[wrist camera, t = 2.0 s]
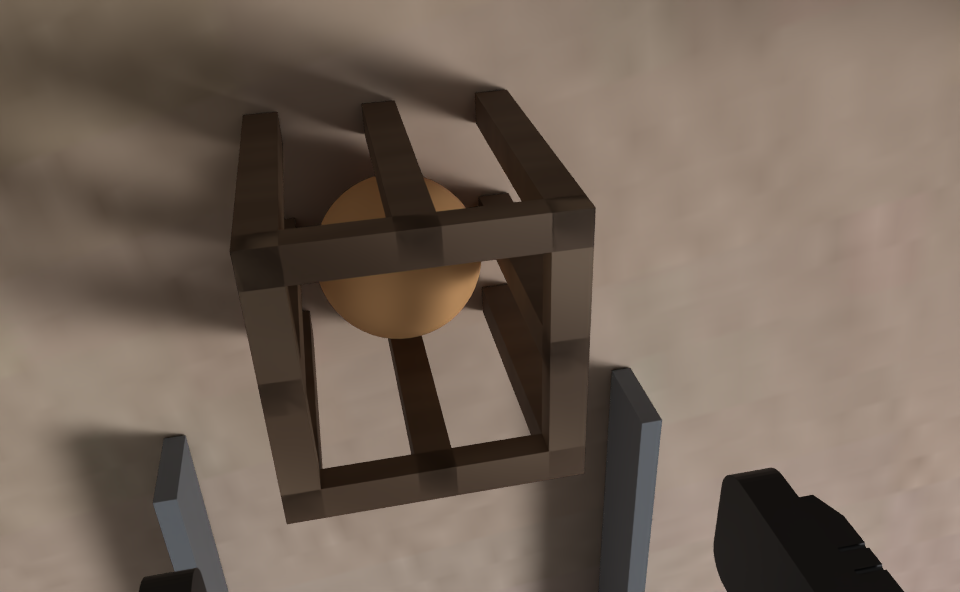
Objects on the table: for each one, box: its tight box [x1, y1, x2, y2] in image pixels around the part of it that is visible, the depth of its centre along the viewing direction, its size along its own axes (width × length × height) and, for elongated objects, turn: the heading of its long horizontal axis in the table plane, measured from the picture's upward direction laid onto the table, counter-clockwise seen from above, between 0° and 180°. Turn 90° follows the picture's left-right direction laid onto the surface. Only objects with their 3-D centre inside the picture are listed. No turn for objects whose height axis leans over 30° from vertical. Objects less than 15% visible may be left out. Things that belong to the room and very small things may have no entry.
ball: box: [319, 176, 481, 339], centre depth 21 cm, size 4×4×4 cm
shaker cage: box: [230, 90, 595, 524], centre depth 19 cm, size 6×6×7 cm
